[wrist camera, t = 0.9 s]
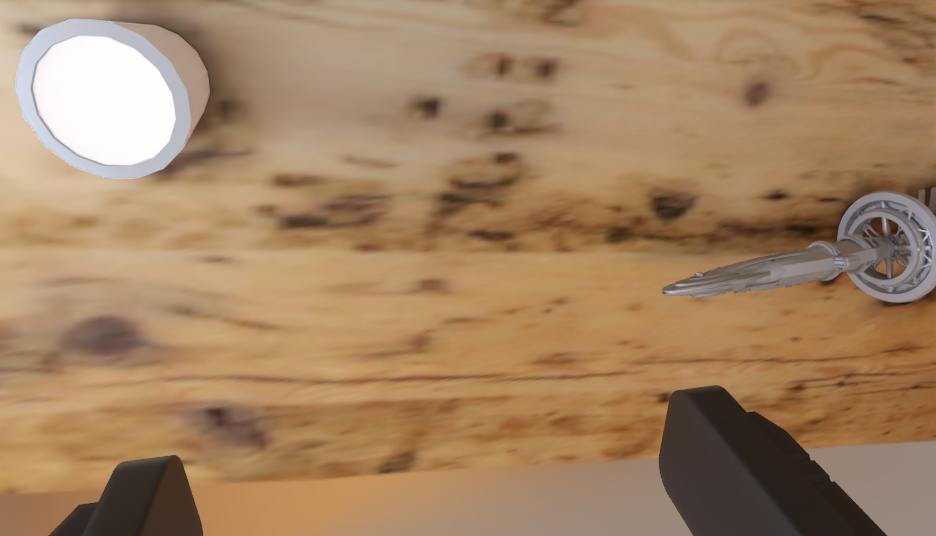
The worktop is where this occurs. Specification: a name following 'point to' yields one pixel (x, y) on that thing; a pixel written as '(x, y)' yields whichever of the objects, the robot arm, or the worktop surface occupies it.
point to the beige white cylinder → (112, 94)
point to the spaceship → (844, 255)
